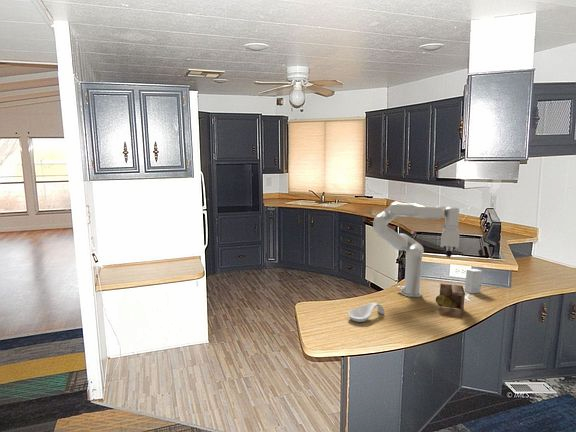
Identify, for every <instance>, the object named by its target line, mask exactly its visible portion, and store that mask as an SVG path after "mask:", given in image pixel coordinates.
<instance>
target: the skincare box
mask: <svg viewBox="0 0 576 432" xmlns="http://www.w3.org/2000/svg"><path fill="white" fill-rule="evenodd" d="M482 275H483V270H480V269H478V268H471V269H470V268H467V269H466V274H465V285H464V292H465V293H466V292H467V293H469V294H476V293H477V294H478V293H481V288H482V287H481V286H482V277H483V276H482Z"/></svg>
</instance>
